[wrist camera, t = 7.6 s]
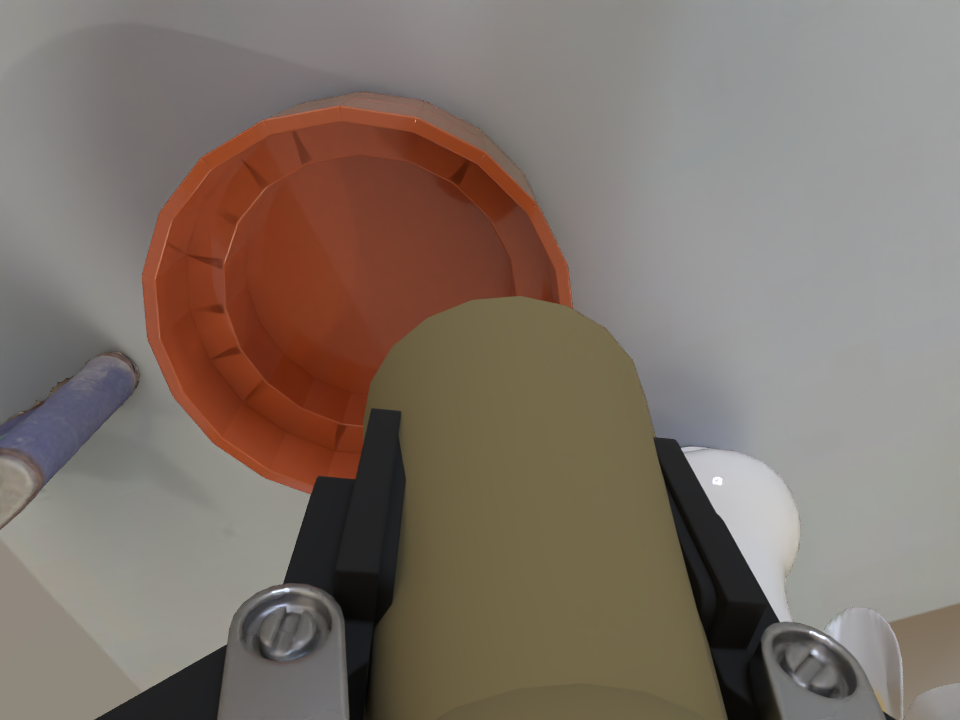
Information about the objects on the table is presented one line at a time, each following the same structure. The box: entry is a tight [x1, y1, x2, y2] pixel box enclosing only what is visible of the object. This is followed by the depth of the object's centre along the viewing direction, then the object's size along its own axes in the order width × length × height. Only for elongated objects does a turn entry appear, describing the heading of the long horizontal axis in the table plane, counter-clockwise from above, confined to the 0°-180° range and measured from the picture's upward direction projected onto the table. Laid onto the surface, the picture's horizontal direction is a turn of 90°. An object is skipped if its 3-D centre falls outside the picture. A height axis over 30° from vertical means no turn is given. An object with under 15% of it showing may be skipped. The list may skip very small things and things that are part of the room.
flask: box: [0, 352, 140, 530], centre depth 28 cm, size 9×3×11 cm, turn 123°
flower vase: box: [681, 446, 960, 720], centre depth 25 cm, size 13×18×25 cm
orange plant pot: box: [142, 92, 573, 494], centre depth 28 cm, size 16×16×6 cm
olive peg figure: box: [363, 296, 728, 720], centre depth 9 cm, size 6×6×11 cm
